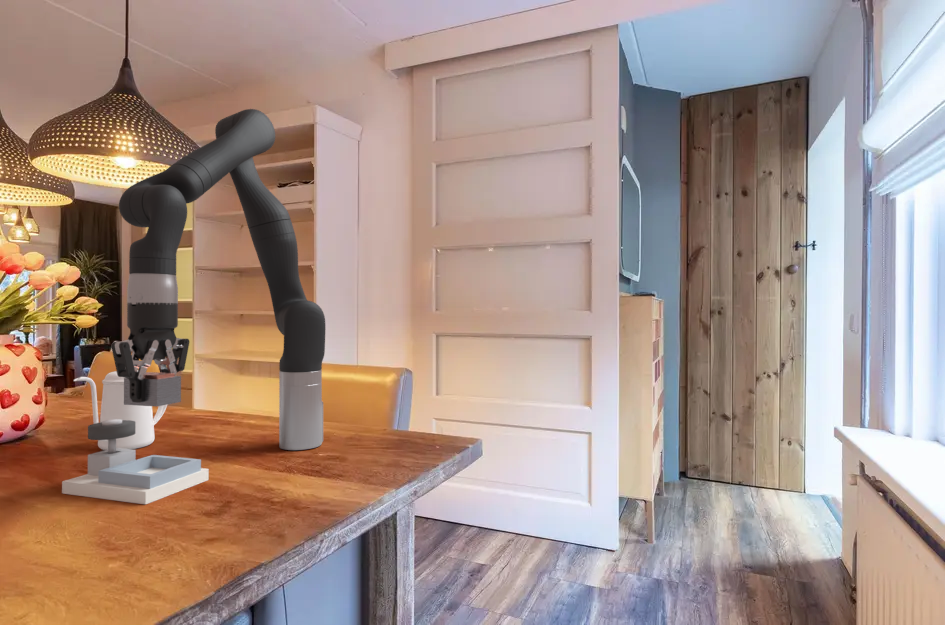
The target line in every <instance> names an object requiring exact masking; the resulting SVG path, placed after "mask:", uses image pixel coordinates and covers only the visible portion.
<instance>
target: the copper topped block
mask: <svg viewBox="0 0 945 625" xmlns="http://www.w3.org/2000/svg"><path fill="white" fill-rule="evenodd" d="M143 380H145V401H144V402H140V403H138V402H132V399H130V381H129V379H128V378H124V405H139V406H152V407H155V408H158V406H162V405H167V406H168V405H171V404H177V403H181V402H182V376H181V375H175V373H160V372H156V371H155V372H153V371H146V374H145V377H144V379H143Z"/></svg>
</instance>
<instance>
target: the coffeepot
mask: <svg viewBox="0 0 945 625" xmlns="http://www.w3.org/2000/svg"><path fill="white" fill-rule="evenodd" d="M137 372H138V370H137ZM124 378H125V377H119V376H118V375H117V371H116V370H115V371H111V372H108V373H107V374H106V375H105V377H104V379H102V380H101V384H103V385H102V396H101V406H100V415H99V413H98V412H99V410H98V395H97V385H96V383H95V381H94V380H93V378H91V377H88V376H79V377H77V378H74V379H73V382H87V383H89V385H90V392H91V405H92V418H93V419H92V421H93V424H95V423H100V422H102V421H105V420H112V419H122V420H131V421H135V434H134V435H132V436H128V437H124V438H118V439H116V448H121V449H131V450H137V449H141V448H145V447H147V446H149V445H151V444H153V442H154V441H155V427H154V426H155V425H156V424H157V423H158V422H159V421H160V419H162V417H163V415H164V413H165V412H166V411H167V410H166V409H167V407H168V404H167V405H162V406H157V411H156V413H155V414H153V406H139V405H124ZM153 415H154V416H153ZM99 416H100V417H99ZM97 446H98V448H99V449H101V451H104V450H108V440H97Z"/></svg>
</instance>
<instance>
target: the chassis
mask: <svg viewBox="0 0 945 625" xmlns="http://www.w3.org/2000/svg"><path fill="white" fill-rule="evenodd" d="M136 451H137V449H121V448H116V453H114V454H108V450H100V451H96V452H93V453H89V454H87V473H86V474H83V475H80V476H76V477H72V478H70V479H65V480H63V481H61V494H66V495H72V496H80V497H86V498H95V499H101V500H110V501H115V502H116V501H117V502H125V503H132V504H140V505H147V504H151V503H154V502H156V501H158V500H161V499H163V498H166V497H168V496H171V495H173V494H176V493H178V492H181V491H184V490H186V489H189V488H192V487H195V486H197V485H199V484H201V483H204V482H207V481H209V475H210V473H209V470H210V469H209V468H203V467H202V459H198V458H190V457H180V456H179V457H178V456H167V455H161V454H160V455H159V454H158V455H157V454H151V455H148V456H144V457H140V458H138V459H136V458H137V456H136V455H137V454H136V453H137V452H136Z"/></svg>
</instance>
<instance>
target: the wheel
mask: <svg viewBox="0 0 945 625" xmlns="http://www.w3.org/2000/svg"><path fill="white" fill-rule="evenodd" d="M134 434H135V421H131V420H122V419H112V420H105V421H102V422H100V421H99V423H95V424H94V423H92V424H90V425H88V426H87V439H88V440H91V441H98V440H108V454H114V453H116V439H118V438H124V437H128V436H132V435H134Z"/></svg>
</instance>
